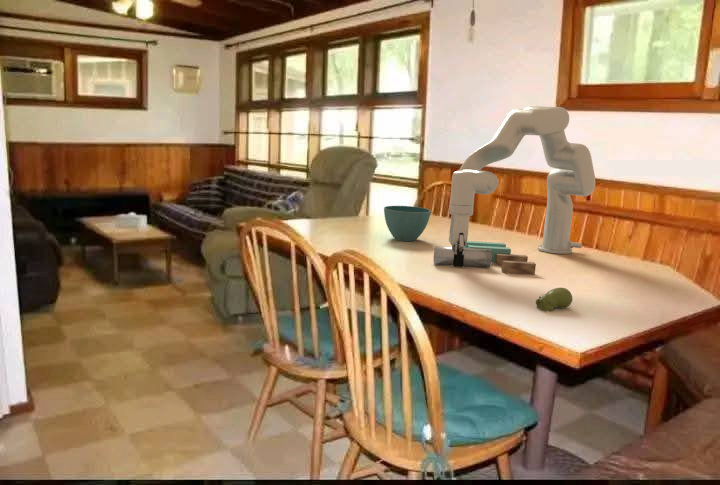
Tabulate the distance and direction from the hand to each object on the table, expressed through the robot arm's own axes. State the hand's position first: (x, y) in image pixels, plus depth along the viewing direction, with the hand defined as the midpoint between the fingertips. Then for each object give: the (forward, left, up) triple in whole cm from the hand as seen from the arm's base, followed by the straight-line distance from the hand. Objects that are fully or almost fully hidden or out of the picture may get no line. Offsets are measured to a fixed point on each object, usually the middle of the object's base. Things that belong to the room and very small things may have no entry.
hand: (456, 263), depth 192 cm
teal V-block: (-12, -13, -1) cm, 18 cm away
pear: (-19, +42, -1) cm, 46 cm away
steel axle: (-2, 0, +2) cm, 3 cm away
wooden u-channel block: (-19, 0, -1) cm, 19 cm away
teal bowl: (+15, -41, -1) cm, 44 cm away
